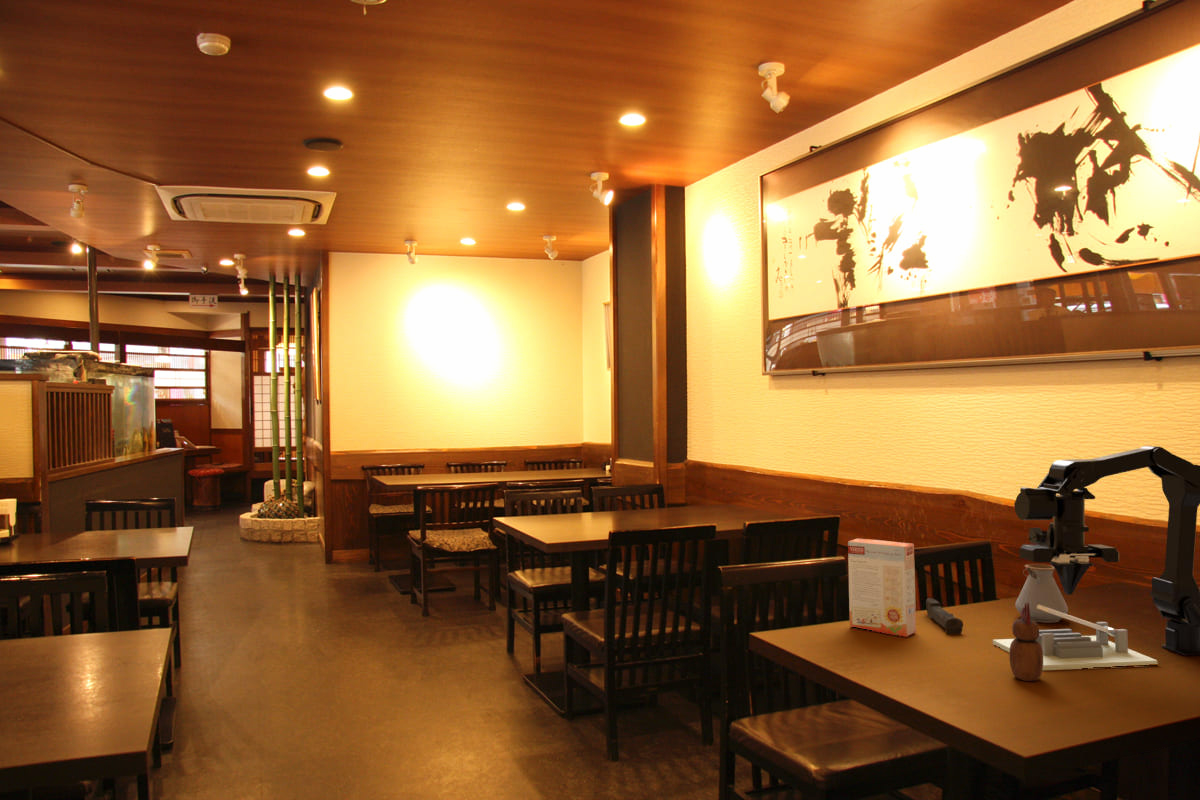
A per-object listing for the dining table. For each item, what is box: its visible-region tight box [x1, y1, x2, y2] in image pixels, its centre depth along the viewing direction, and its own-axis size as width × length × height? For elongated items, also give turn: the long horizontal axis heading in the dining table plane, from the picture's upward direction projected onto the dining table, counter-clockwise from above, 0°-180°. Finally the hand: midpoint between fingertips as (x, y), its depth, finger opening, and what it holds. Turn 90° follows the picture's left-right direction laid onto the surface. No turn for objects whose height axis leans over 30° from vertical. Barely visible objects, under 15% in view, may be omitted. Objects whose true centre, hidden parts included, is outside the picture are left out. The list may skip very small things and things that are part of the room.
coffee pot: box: [1014, 563, 1069, 624], centre depth 196 cm, size 21×12×15 cm, turn 142°
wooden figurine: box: [1008, 603, 1043, 682], centre depth 158 cm, size 7×6×15 cm
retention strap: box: [1037, 605, 1116, 638], centre depth 172 cm, size 17×4×2 cm, turn 94°
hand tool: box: [925, 597, 964, 635], centre depth 198 cm, size 19×4×5 cm, turn 173°
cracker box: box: [847, 538, 917, 638], centre depth 192 cm, size 14×6×21 cm, turn 47°
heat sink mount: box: [992, 621, 1158, 671], centre depth 172 cm, size 24×18×6 cm
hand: (1068, 594), depth 172 cm, fingers closed
